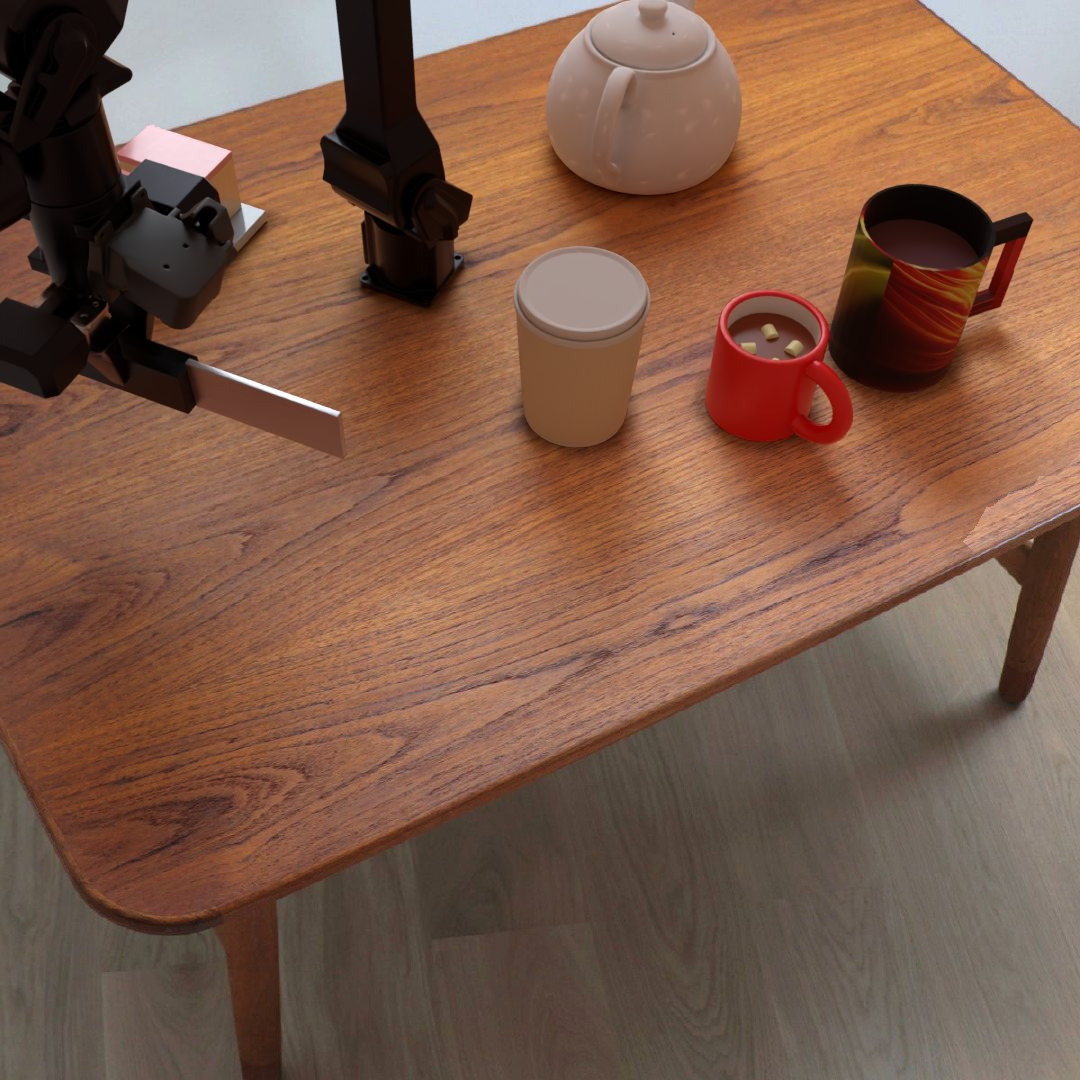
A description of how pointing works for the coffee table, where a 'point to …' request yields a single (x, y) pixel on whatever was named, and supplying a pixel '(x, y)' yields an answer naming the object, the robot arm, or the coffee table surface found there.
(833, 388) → the mug
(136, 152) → the cake plate
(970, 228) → the mug
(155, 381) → the knife
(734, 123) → the teapot
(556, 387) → the coffee cup
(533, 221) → the coffee table surface
